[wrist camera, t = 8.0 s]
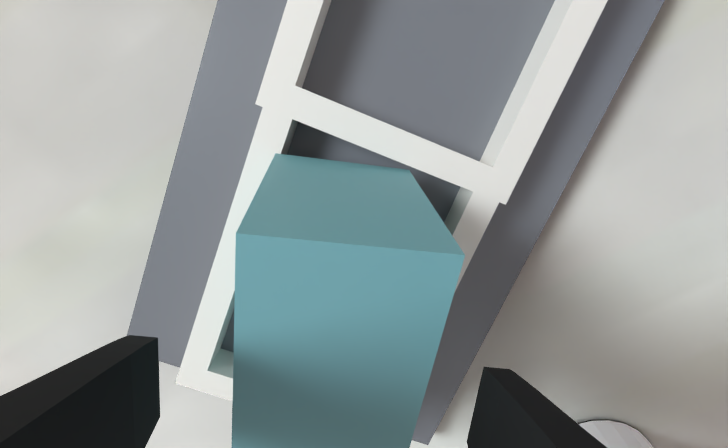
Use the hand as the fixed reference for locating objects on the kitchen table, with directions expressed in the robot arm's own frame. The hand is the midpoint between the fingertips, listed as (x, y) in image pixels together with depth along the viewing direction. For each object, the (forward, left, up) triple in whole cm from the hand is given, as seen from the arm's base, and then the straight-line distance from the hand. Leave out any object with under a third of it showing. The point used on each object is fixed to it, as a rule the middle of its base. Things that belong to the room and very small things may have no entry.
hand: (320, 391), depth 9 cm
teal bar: (0, 0, -6) cm, 6 cm away
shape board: (0, -4, -8) cm, 9 cm away
